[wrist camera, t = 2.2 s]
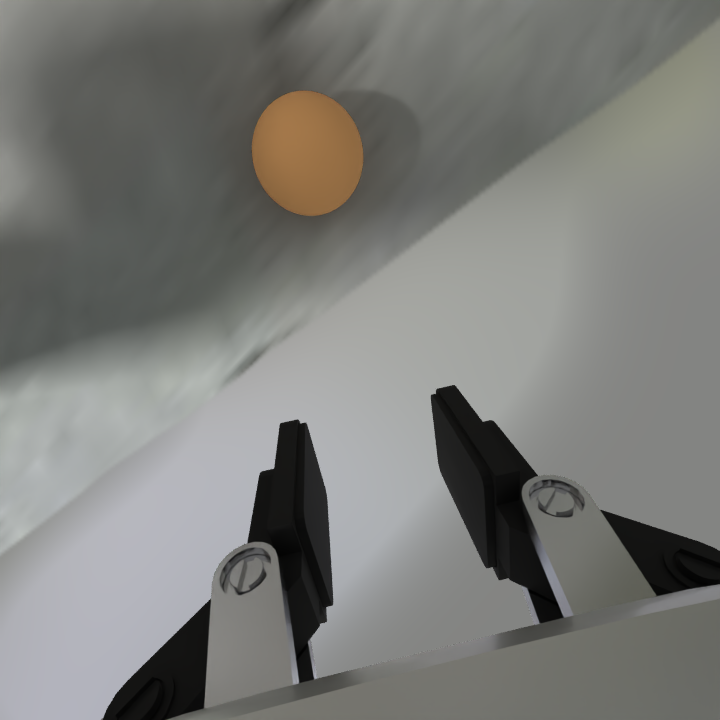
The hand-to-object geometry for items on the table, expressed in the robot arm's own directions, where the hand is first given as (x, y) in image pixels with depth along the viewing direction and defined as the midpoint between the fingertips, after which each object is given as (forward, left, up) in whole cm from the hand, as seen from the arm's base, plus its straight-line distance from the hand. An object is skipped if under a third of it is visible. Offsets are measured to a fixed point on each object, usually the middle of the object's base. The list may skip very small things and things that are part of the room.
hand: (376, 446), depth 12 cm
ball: (0, +9, -14) cm, 17 cm away
